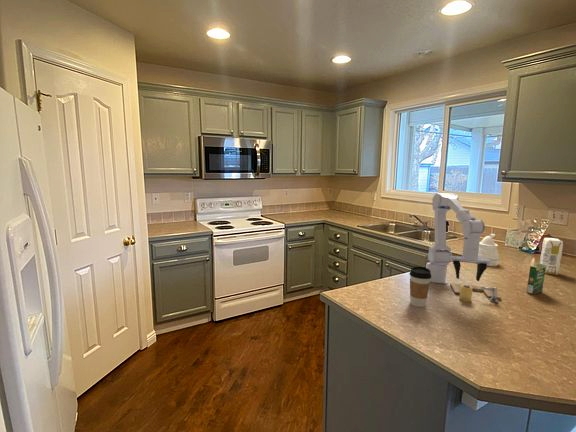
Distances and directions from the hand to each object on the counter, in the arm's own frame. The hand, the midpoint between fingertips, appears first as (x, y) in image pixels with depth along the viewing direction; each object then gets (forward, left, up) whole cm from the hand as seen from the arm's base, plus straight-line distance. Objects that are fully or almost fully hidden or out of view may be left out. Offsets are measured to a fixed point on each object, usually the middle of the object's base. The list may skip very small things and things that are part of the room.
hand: (467, 279), depth 136 cm
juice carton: (+54, +60, -10) cm, 81 cm away
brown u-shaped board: (+6, +11, -9) cm, 16 cm away
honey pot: (+25, +68, -10) cm, 73 cm away
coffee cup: (-20, -12, -10) cm, 25 cm away
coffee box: (+33, +21, -10) cm, 40 cm away
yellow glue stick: (0, 0, -9) cm, 9 cm away
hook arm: (+10, +3, -9) cm, 14 cm away
